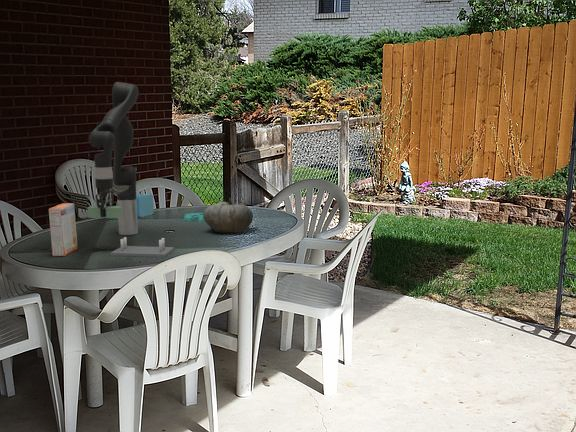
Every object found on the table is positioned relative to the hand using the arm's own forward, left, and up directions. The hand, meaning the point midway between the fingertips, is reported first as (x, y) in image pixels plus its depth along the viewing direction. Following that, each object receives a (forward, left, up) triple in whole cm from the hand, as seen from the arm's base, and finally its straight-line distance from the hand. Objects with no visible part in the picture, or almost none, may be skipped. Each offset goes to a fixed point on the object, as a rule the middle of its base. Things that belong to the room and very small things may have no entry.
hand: (105, 215), depth 299 cm
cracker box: (+7, -16, -16) cm, 24 cm away
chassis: (+3, +18, -15) cm, 24 cm away
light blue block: (-87, -14, -16) cm, 89 cm away
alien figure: (-81, +21, -16) cm, 86 cm away
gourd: (-49, +44, -16) cm, 67 cm away
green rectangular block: (0, 0, -1) cm, 1 cm away
